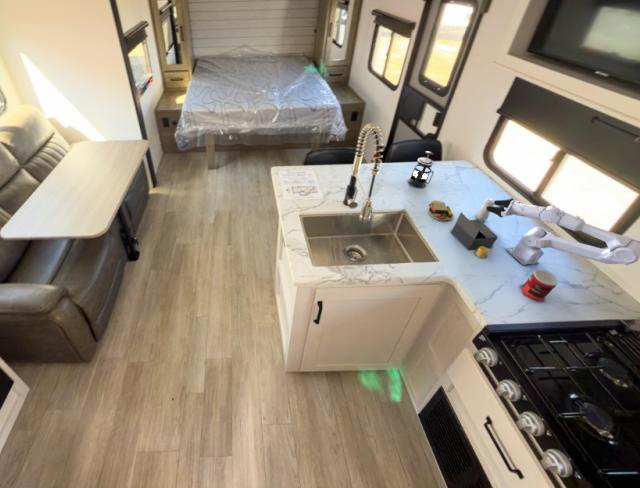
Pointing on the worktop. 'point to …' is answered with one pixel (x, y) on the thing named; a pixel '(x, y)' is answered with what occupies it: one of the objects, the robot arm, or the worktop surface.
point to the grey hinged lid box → (482, 238)
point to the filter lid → (467, 225)
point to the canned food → (539, 285)
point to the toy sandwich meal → (440, 211)
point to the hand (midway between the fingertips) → (490, 205)
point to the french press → (422, 172)
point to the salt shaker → (484, 210)
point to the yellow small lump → (482, 251)
